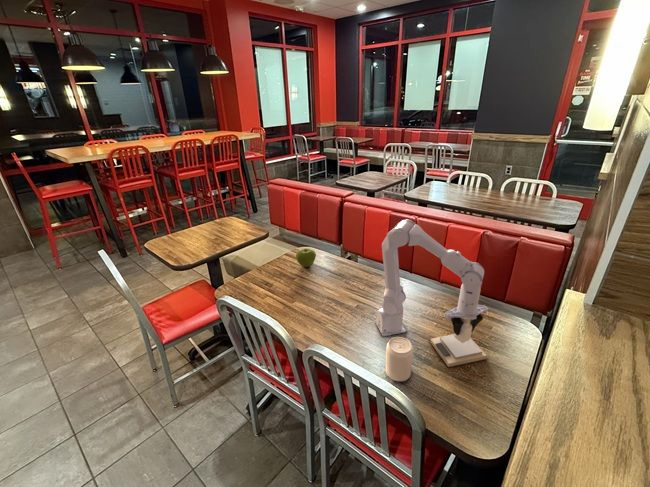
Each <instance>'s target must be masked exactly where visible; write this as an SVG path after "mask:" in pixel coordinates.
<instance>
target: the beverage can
mask: <svg viewBox="0 0 650 487" xmlns="http://www.w3.org/2000/svg"><path fill="white" fill-rule="evenodd" d="M385 349H386V350H385V374H386V375H387V377H388V378H389V379H391V380H392V381H395V382H405V381H407V380H408V379H409V378H410V377H411V375H412V364H413V354H414V347H413V345H412V343H411V341H410V340H409V339H407V338H405V337H402V336H394V337H392V338H390V339H389V340H388V342H387V344H386V348H385Z"/></svg>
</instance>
